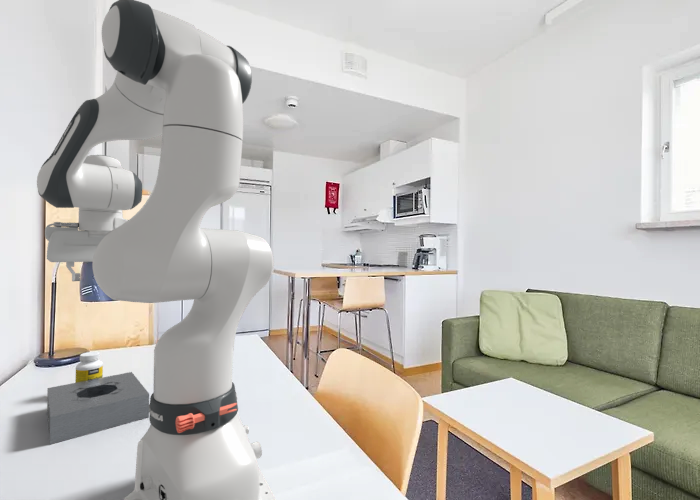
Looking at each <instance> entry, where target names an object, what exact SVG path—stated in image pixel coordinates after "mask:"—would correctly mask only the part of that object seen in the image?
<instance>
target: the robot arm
mask: <svg viewBox="0 0 700 500" xmlns="http://www.w3.org/2000/svg"><path fill="white" fill-rule="evenodd" d="M101 41H102V45H103V52H104V56H105V59H106V60H107V61H108V63H109V64H110V65H111V66H112V68H113V69H114V70H115V71H117V72H116V75H115V77H114V81H113V83H112V85H111V86H110V87H109V88H108V89H107V90H106V91H105V92H104V93H103V94H101V95H100V96H98V97H96V98H92V99H87V100H84V102H82V104H81V105H80V106H79V107H78V109H77V110H76V111H75V113H74V115H73V116H72V118H71V120H70V121H69V123H68V125H67V126H66V129H65V130H64V132H63V133H62V135H61V137H60V139H59V140H58V143H57V145H56V146H55V147H54V150H53V151H52V153H51V154H50V156H49V157H48V158H47V159H46V160H45V161H44V163H42V165H41V167H40V169H39V171H38V172H37V173H38V174H37V177H36V188H37V193H38V195H39V196H40V197H41V198H42V199H43V200H45V202H47V203H48V204H50V205H51V206H53V207H54V208H56V209H59V208H60V209H63V208H65V209H74V208H78V222H61V221H55V222H54V221H53V222H52V223H49V224H48V225H46V227H45V228H44V238H45V239H46V241H48V244H47V250H46V260H47V261H49V263H66V265H65V266H66V268H67V270H68V271H69V273H70V274H71V281H72V282H80V281H81V273H80V272H75V270H74V268H73V267H75V263H90V262H91V263H92V273H93V276H94V277H93V278H94V280H95V281H96V284H97V286H98V287H99V289H100V290H101V291H102V292H103V293H104V294H105V295H106V296H107V297H109V298H110V299H111V300H113V301H120V302H132V303H141V304H142V303H143V304H155V303H167V302H179V301H181V302H182V301H188V300H189V301H190V300H191V301H192V300H193V303H192V306H191V308H190V309H189V311H188V313H187V315H186V316H185V317H184V318H183V319H182V320H181V321H180V322H178V323H176V324H174V325H172V327H171V326H170V328H168V329H167V330H166V331H165V332H163V334H162V335H161V336H160V337H159V339H158V340H157V342H156V343H155V344H156V345H155V346H154V349H153V392H152V393H151V395H150V396H149V417H148V419H149V423H150V425H149V428H148V429H147V430H146V432H145V434H144V435H143V437H141V438H140V440H139V441H138V443H137V445H136V446H137V447H136V448H137V449H136V459H135V460H136V463H135V478H134V480H135V481H134V489H133V490H132V491H131V492H130V493H128V495H126V496H125V497H124V498H123V499H122V500H277V498H276V496H275V494H274V492H273V491H272V489H271V487H270V485H269V483H268V482H267V480H266V477H265V475H264V474H263V472H262V470H261V468H260V466H259V462H258V460H259V459H261V458H262V455H263V450H262V446H261V442H260V441H255V442H252V443H251V441H250V439H249V436H248V435H249V431H250V429H249V426H248V424H246V425H243V422H242V420H241V417H240V414H239V406H238V394H237V390H236V386H235V383H234V382H233V368H234V367H233V363H234V362H233V361H234V350H235V349H234V348H235V341H236V340H235V339H236V335H237V330H238V327H239V324H240V322H241V319H242V318H243V317H242V316H243V314H244V312H245V310H246V309H247V307H248V305H249V304H250V302H251V301H252V300H253V298H254V297H255V296H256V295H257V294H258V293H259V292H260V291H261V290H262V289H263V288H264V287H266V285H267V284H268V283H269V281H270V279H271V277H272V275H273V273H274V266H275V259H274V253H273V251H272V248H271V246H270V244H269V243H268V242H267V240H266V239H265V238H263V237H262V236H259V235H255V234H252V233H249V232H246V231H241V230H237V229H220V228H219V229H217V228H206V227H205V228H202V227H201V224H202V220H203V218H204V216H205V215H206V213H207V212H208V211H209V210H210V209H211V208H212V207H215V206H218V205H220V204H223V203H225V202H227V201H229V200H230V199H232V198H233V196H234V195H236V193H237V191H238V190H239V188H240V183H241V182H240V181H241V168H242V154H243V153H242V152H243V141H244V107H243V106H244V105H243V104H244V103H245V102H246V100H247V99H248V96H249V95H250V92H251V88H252V82H253V79H252V78H253V76H252V69H251V65H250V63H249V61H248V59H247V58H246V57H245V56H244V55H243V54H242V53H241V52H239V51H238V50H237V49H236V48H234V47H232V46H231V45H226V44H225V43H223V42H221V41H220V40H219V39H217V38H216V37H214V36H211V35H209V34H208V33H206V32H205V31H202V30H200V29H199V28H197V27H196V26H195V25H194V24H192V23H189V22H187V21H185V20H183V19H180V18H179V17H176V16H173V15H171V14H168V13H166V12H163V11H160V10H158V9H155V8H152V7H151V6H150V5H149V4H148V3H145V2H142V1H139V0H117V1H115V2H113V3H112V4H111V5H110V7H109V9H108V11H107V13H106V15H105V17H104V18H103V20H102V25H101ZM158 137H161V146H160V157H159V165H158V169H157V177H156V179H155V183H154V187H153V190H152V192H151V193H150V195H149V197H148V198H147V200H146V202H145V203H144V205H143V206H142V207H141V208H140V209H139V210H138V211H137V212H136V213H135V214H134V215H133V216H132V217H131V218H129V219H125V218H124V214H123V213H124V211H128V210H133V209H135V208H136V207H137V206H138V205H139V204H140V203H141V202H142V199H143V182H142V180H141V179H140V177H138V175H137V174H136V173H134V172H133V171H132V170H128V169H126V168H123V167H122V163H121V161H120V160H119V159H117V158H116V157H114V156H110V155H104V154H91V155H89V154H90V152H91V151H92V150H93V148H95V147H96V146H98V145H100V144H104V143H107V142H115V141H143V140H144V141H145V140H146V141H147V140H152V139H155V138H158Z"/></svg>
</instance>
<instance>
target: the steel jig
mask: <svg viewBox="0 0 700 500" xmlns="http://www.w3.org/2000/svg"><path fill="white" fill-rule="evenodd" d="M46 391H47V393H46V394H47V395H46V397H47V401H46V405H47V406H46V408H47V409H46V412H47V424H48V425H47V426H48V439H49V445H54V444H57V443H60V442H64V441H69V440H72V439H76V438H79V437H82V436H86V435H90V434H94V433H97V432H100V431H105V430H108V429H111V428H116V427H120V426H122V425H127V424H130V423H133V422H137V421H141V420H143V419H144V420H145V419H149V418H150V413H149V404H150V392H148V391H147V389H146V388H145V386H144V385H143V384H142V383H141V382H140V380H139V379H138V378H137V377H136V375H135V374H134V373H133V372H132V371H129V372H125V373H119V374H114V375H109V376H104V377H102V378H98V379H92V380H87V381H82V382H77V383H75V382H73V383H67V384H62V385H58V386H52V387H48V388H47V390H46Z"/></svg>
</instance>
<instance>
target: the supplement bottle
mask: <svg viewBox="0 0 700 500" xmlns="http://www.w3.org/2000/svg"><path fill="white" fill-rule="evenodd" d="M100 356H101V355H100V351H87V352H83V353H81V354H79V361H80V362H79V363H77V365H76V366H75V382H74V383H77V382H82V381H87V380H92V379H98V378H103V376H104V375H103V372H104V371H103V370H104V369H103V367H104V365H103V364H104V362H103V361H101V360H100Z"/></svg>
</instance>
